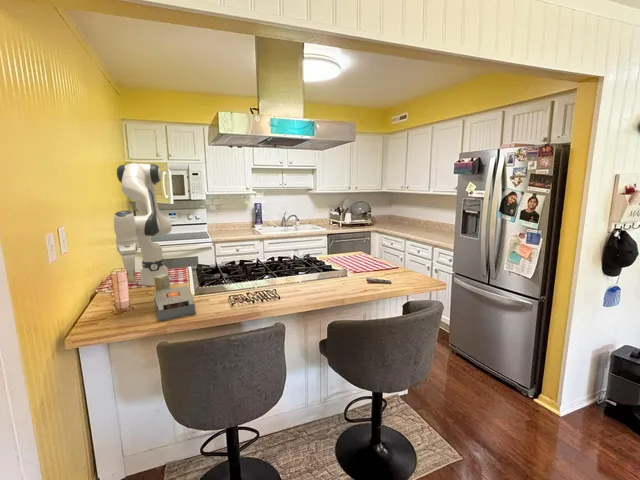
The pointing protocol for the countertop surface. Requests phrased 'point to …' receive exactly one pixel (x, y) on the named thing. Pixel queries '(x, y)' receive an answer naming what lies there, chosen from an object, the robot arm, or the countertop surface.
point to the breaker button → (173, 294)
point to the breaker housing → (174, 303)
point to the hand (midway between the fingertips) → (131, 275)
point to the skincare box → (162, 282)
